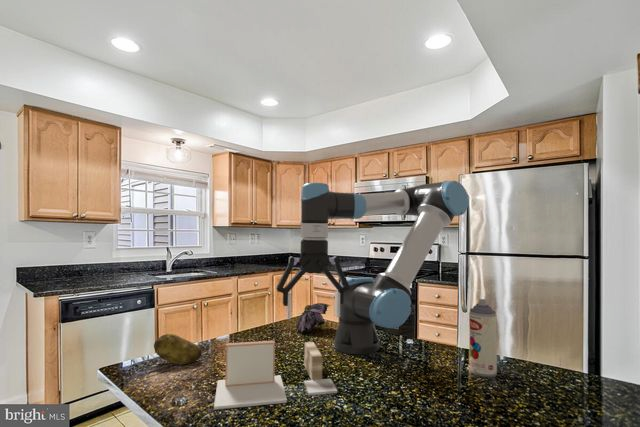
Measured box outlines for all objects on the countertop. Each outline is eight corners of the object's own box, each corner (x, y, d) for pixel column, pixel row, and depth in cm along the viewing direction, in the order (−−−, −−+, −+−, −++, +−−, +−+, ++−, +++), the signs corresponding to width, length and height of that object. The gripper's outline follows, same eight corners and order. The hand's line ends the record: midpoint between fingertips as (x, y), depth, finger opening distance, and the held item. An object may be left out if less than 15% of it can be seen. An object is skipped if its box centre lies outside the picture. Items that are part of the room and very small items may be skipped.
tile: (273, 380, 92) (274, 340, 93) (274, 382, 91) (274, 342, 91) (225, 384, 90) (226, 343, 90) (225, 386, 88) (226, 345, 88)
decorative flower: (300, 300, 149) (331, 292, 143) (310, 325, 150) (342, 319, 144) (285, 317, 136) (319, 310, 130) (296, 345, 137) (331, 339, 131)
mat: (280, 377, 95) (280, 375, 95) (287, 402, 82) (287, 399, 82) (217, 382, 92) (217, 380, 92) (213, 409, 78) (213, 406, 78)
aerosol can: (464, 368, 103) (464, 297, 103) (486, 366, 104) (485, 297, 105) (479, 378, 96) (478, 302, 97) (502, 376, 97) (501, 301, 98)
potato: (188, 370, 100) (188, 341, 100) (148, 365, 103) (149, 337, 103) (204, 359, 108) (205, 332, 108) (167, 355, 111) (167, 329, 111)
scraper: (296, 365, 104) (296, 342, 104) (320, 363, 105) (320, 341, 105) (308, 395, 85) (309, 367, 85) (337, 392, 87) (337, 365, 87)
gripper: (269, 239, 93) (268, 322, 92) (361, 239, 98) (361, 318, 97) (267, 238, 100) (266, 315, 99) (353, 239, 105) (352, 312, 105)
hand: (313, 317), depth 98 cm, fingers open, 13 cm apart
